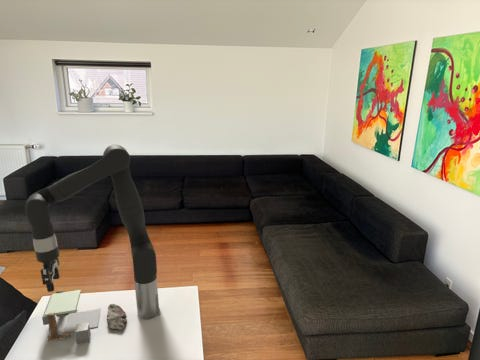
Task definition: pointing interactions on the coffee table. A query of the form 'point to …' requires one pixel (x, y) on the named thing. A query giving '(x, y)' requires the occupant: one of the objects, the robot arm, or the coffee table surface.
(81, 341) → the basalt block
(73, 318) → the mat
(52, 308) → the trapdoor
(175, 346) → the coffee table surface
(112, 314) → the mineral rock
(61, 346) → the coffee table surface
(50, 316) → the frame
